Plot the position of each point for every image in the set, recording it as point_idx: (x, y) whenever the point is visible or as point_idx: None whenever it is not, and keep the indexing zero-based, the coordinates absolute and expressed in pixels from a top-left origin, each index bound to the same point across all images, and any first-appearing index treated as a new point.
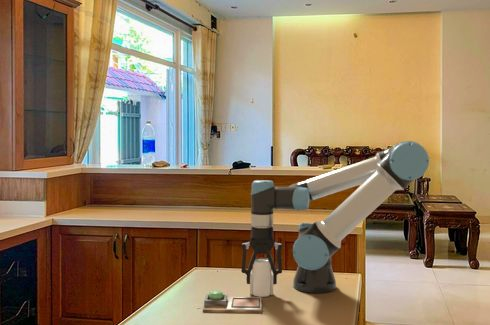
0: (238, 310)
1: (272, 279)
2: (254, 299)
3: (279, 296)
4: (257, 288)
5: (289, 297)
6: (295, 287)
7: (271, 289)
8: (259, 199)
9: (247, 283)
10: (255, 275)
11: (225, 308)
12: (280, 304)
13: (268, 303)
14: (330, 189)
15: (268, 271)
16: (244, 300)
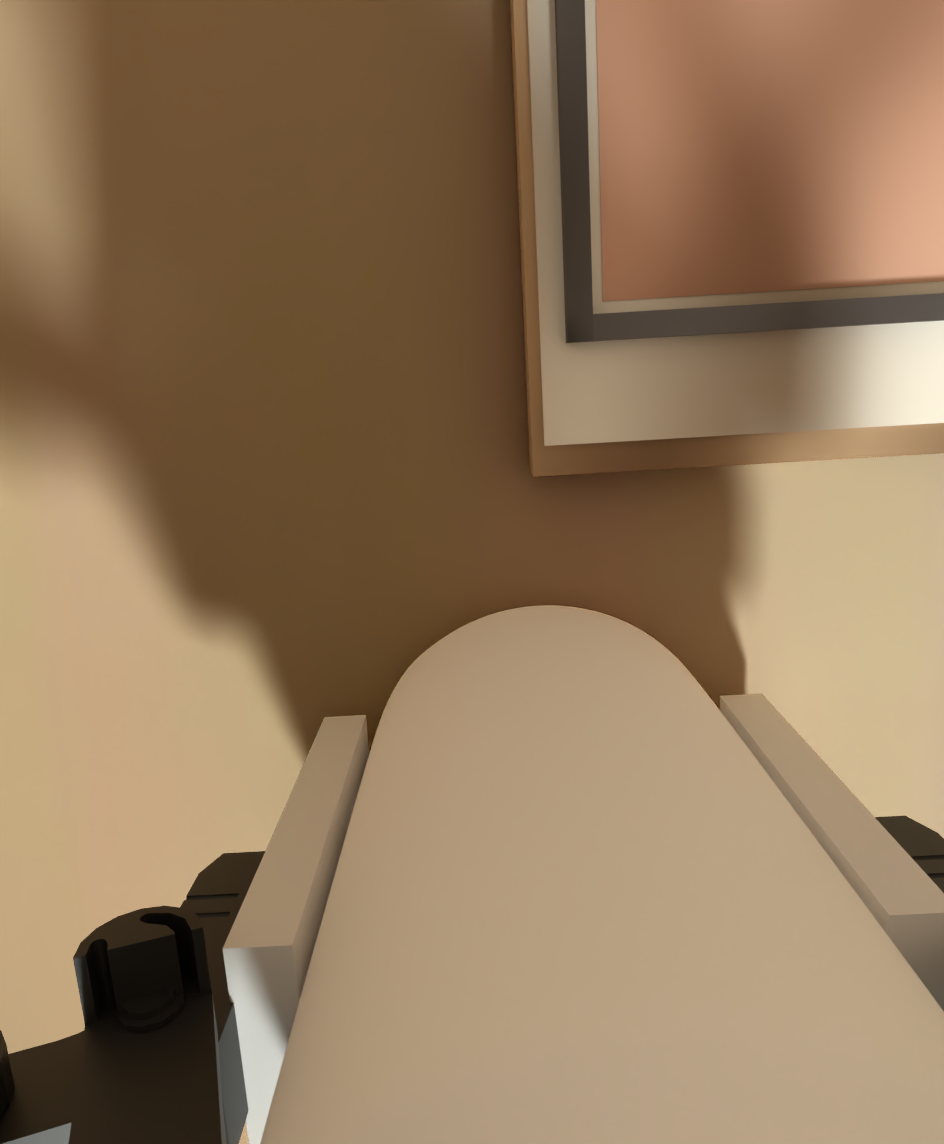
0: None
1: (276, 877)
2: (675, 286)
3: (214, 699)
4: (645, 661)
5: (29, 661)
6: None
7: (343, 758)
8: None
9: (903, 823)
10: (798, 838)
11: None
12: (151, 219)
13: (387, 257)
14: None
15: (349, 966)
16: (883, 198)
